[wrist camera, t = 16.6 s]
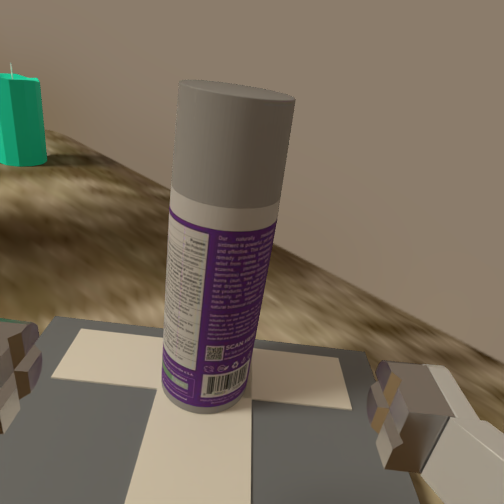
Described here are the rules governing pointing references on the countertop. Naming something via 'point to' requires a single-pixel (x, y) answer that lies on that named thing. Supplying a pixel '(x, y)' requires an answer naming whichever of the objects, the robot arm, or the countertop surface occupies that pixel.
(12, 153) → the candle
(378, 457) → the letter board
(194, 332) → the container
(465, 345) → the countertop surface
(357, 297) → the countertop surface
